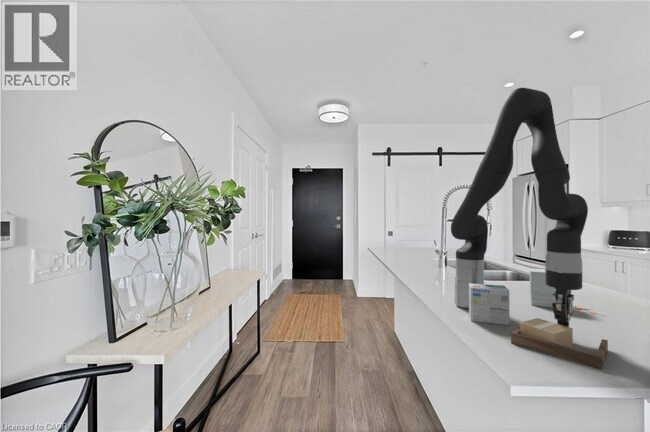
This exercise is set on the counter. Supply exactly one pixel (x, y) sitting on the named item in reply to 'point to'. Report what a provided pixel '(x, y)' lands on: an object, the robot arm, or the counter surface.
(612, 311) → the counter surface
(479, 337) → the counter surface
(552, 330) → the kraft carton
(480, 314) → the light bulb box
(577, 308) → the key chain
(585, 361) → the brown wooden u-shaped piece
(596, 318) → the counter surface
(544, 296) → the supplement box
